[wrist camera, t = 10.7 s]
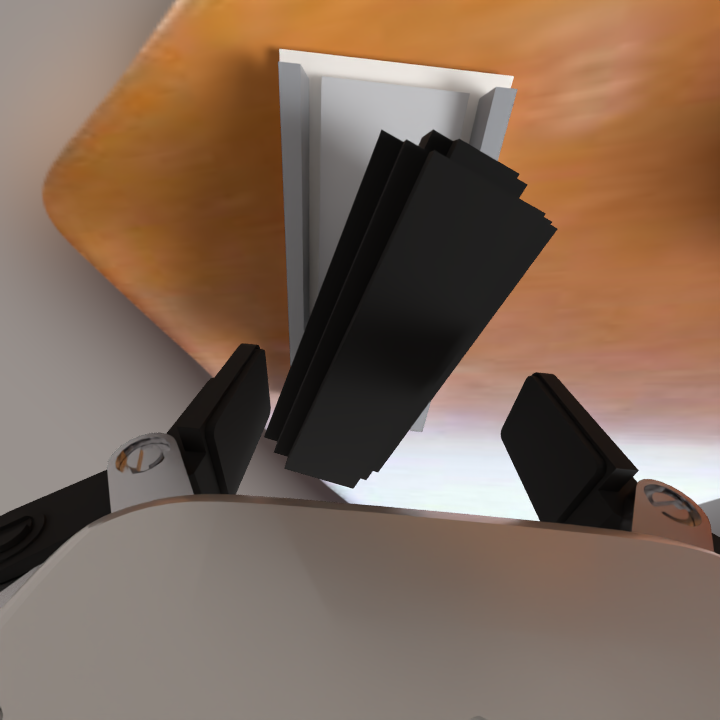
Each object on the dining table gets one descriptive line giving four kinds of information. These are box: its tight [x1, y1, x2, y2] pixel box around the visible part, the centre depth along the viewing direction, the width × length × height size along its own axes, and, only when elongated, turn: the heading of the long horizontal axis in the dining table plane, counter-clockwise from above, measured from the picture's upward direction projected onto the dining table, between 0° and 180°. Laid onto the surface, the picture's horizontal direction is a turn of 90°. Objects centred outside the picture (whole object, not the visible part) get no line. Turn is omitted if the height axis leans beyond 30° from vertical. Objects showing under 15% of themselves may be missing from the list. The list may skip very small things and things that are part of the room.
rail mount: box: [278, 49, 517, 432], centre depth 21 cm, size 24×12×3 cm, turn 175°
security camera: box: [264, 129, 557, 488], centre depth 17 cm, size 7×18×10 cm, turn 156°
